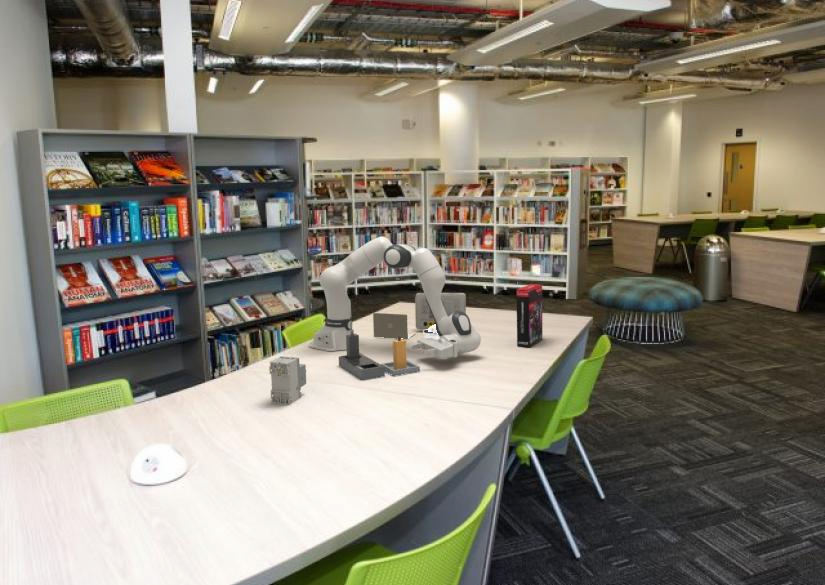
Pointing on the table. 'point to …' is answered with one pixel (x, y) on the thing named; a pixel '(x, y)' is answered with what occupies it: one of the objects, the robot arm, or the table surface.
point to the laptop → (390, 325)
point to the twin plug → (352, 345)
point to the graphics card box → (529, 315)
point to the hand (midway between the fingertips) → (418, 349)
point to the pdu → (362, 367)
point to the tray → (410, 368)
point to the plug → (399, 353)
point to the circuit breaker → (286, 379)
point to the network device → (450, 304)
